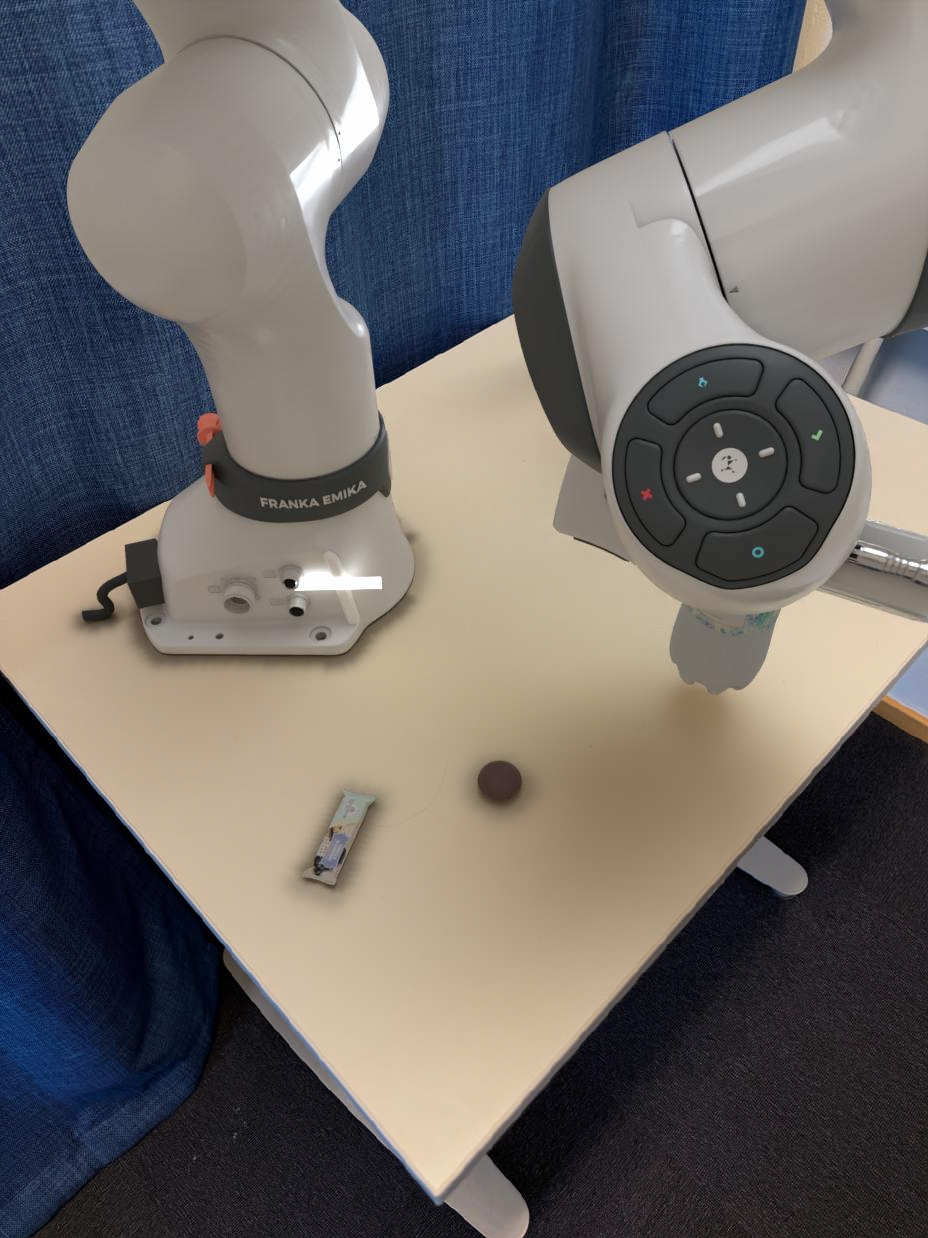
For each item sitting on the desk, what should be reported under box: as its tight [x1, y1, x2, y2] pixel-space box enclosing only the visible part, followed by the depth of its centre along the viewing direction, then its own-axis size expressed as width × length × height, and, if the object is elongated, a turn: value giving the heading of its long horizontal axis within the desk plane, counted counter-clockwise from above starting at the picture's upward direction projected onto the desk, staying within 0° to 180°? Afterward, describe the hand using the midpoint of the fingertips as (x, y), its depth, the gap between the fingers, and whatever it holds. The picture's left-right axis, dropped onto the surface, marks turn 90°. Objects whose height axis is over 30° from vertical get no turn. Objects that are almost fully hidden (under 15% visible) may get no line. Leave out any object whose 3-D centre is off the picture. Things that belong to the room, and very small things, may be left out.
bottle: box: [669, 603, 782, 696], centre depth 55 cm, size 7×7×20 cm
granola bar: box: [302, 788, 377, 886], centre depth 59 cm, size 7×2×1 cm, turn 161°
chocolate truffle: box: [477, 760, 523, 802], centre depth 61 cm, size 3×3×2 cm
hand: (750, 541), depth 54 cm, fingers closed on bottle, 6 cm apart
